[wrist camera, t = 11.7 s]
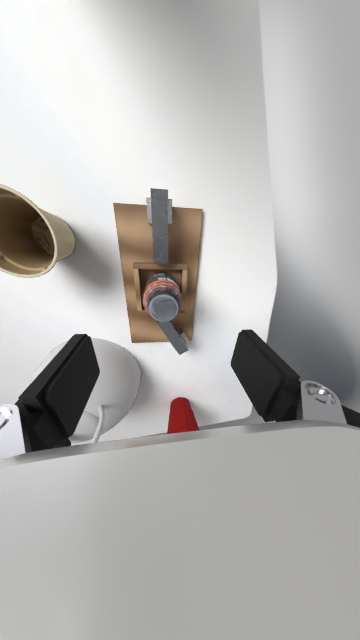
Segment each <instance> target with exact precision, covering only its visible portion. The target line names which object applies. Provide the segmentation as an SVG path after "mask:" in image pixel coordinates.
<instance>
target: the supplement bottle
mask: <svg viewBox="0 0 360 640" xmlns="http://www.w3.org/2000/svg"><path fill="white" fill-rule="evenodd" d="M182 302H183V300H182V294H181V292H180V290H179V287H178V285H177V283H176V281H175V279H174V278H173V277H172V276H171V275H170V274H168V273H165V272H158V273H155V274H153V275H152V276H151V277H150V278H149V279H148V281H147V284H146V287H145V291H144V295H143V305H144V308H145V310H146V311H147V312H148V314H150V315H151V316H152V318H154V319H155V320H157V321H159V322H168V321H171V320H172V319H174V318H175V317H176V315H177V313H178V312H179V311H180V309H181V307H182Z"/></svg>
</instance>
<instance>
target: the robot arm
mask: <svg viewBox="0 0 360 640" xmlns="http://www.w3.org/2000/svg"><path fill="white" fill-rule="evenodd" d="M231 367H232V369H233V370H234V372H235V374H236V376H237V378H238V379H239V381H240V383H241V385H242V386H243V388H244V390H245V392H246V393H247V395H248V397H249V399H250V400H251V402H252V404H253V406H254V407H255V409H256V411H257V413H258V414H259V415H260V416H262V418H263V419H264V421H265V422H269V421H274V420H275V421H276V422H272V423H263V424H254V425H245V426H235V427H226V428H217V429H208V430H199V431H190V432H182V433H173V434H165V435H157V436H147V437H139V438H131V439H123V440H114V441H106V442H98V443H89V444H82V445H75V446H68V447H61V448H53V447H54V446H59V445H66V443H67V441H68V438H69V437H70V436H72V435H73V434H74V432H75V430H76V427H77V425H78V423H79V421H80V418H81V416H82V414H83V411H84V409H85V407H86V405H87V402H88V400H89V398H90V395H91V393H92V391H93V388H94V386H95V384H96V382H97V379H98V377H99V374H100V369H99V365H98V361H97V358H96V354H95V351H94V347H93V343H92V340H91V337H90V336H88V335H87V334H75V335H73V336H72V338H71V339H70V340H69V341H68V342H67V343H66V344H65V346H64V347H63V348H62V349H61V350H60V351H59V352H58V353H57V355H56V356H55V357H54V358H53V359H52V360H51V361H50V363H49V364H48V365H47V366H46V367H45V368H44V369H43V370H42V372H41V373H40V374H39V375H38V376H37V377H36V378H35V380H34V381H33V382H32V383H31V384H30V385H29V386H28V387H27V389H26V390H25V391H24V392H23V393H22V394H21V395H20V396H19V400H18V401H17V402H16V403H15V405H14V404H4V405H0V640H360V413H358V412H355V411H353V410H351V409H349V408H347V407H344V406H342V405H341V404H340V401H339V399H338V398H337V396H336V395H335V394H334V393H333V392H332V391H331V390H329V389H328V388H327V387H325V386H323V385H321V384H319V383H317V382H314V381H308V380H307V381H303V382H302V383H301V382H300V381H299V378H300V376H299V375H298V374H297V373H296V372H295V371H294V370H293V369H292V368H290V366H289V365H287V363H285V362H284V361H283V360H282V359H281V358H280V357H279V356H278V355H277V354H276V353H275V352H274V351H273V350H272V349H271V348H270V347H269V346H268V345H267V344H266V343H265V342H264V341H263V340H262V339H261V338H260V337H259V336H258V335H257V334H256V333H255V332H254V331H253V330H242V331H241V332H239V334H238V338H237V342H236V345H235V349H234V353H233V356H232V360H231Z"/></svg>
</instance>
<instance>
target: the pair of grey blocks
mask: <svg viewBox="0 0 360 640" xmlns="http://www.w3.org/2000/svg"><path fill="white" fill-rule="evenodd" d="M147 216H148V224H152V235H153V259H154V263H162V264H168V225H171V224H172V199H168V190H164V189H152V188H151V198H148V197H147ZM157 324H158V325H159V327H160V328H161V330H162V331H163V332H164V334H165V335H166V337H167V338H168V339H169V341H170V343H171V344H172V345H173V347H174V348H175V350H176V351H177V352H178V353H179V355H180V354H182V353H184V352H186V351H188V346H187V344H188V343H190V342H189V339H188V336H187V335H186V333H185V331H184V330H183V328H180V329H178V330H177V328H176V326H175V325H174V323H173V322H172V320H171V321H168V322H159V321H157Z"/></svg>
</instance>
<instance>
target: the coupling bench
mask: <svg viewBox="0 0 360 640" xmlns="http://www.w3.org/2000/svg"><path fill="white" fill-rule="evenodd" d="M113 205H114V213H115V220H116V228H117V235H118V243H119V250H120V258H121V265H122V273H123V280H124V287H125V295H126V302H127V310H128V317H129V325H130V332H131V340H132V343H140V342H165V341H169V339H168V338H167V337H166V335H165V334H164V332H163V331H162V330H161V328H160V327H159V325H158V324H157V320H155V319H154V318H152V316H151V315H150V314H148V312H147V311H146V310H145V308H144V305H143V295H144V291H145V287H146V284H147V281H148V279H149V278H150V277H151V276H152V275H153V274H155V273H158V272H165V273H168V274H170V275H171V276H172V277H173V278H174V279H175V281H176V283H177V285H178V287H179V290H180V292H181V294H182V300H183V302H182V307H181V309H180V311H179V312H178V313H177V315H176V317H175V318H174V319H172V322H173V323H174V325H175V326H176V328H177V330H178V329H180V328H183V330H184V331H185V333H186V335H187V336H188V339H189V341H190V340H192V328H193V316H194V305H195V293H196V281H197V269H198V258H199V246H200V234H201V222H202V211H203V209H193V208H179V207H172V224H171V225H168V264H162V263H154V259H153V235H152V224H148V216H147V205H135V204H121V203H113Z"/></svg>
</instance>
